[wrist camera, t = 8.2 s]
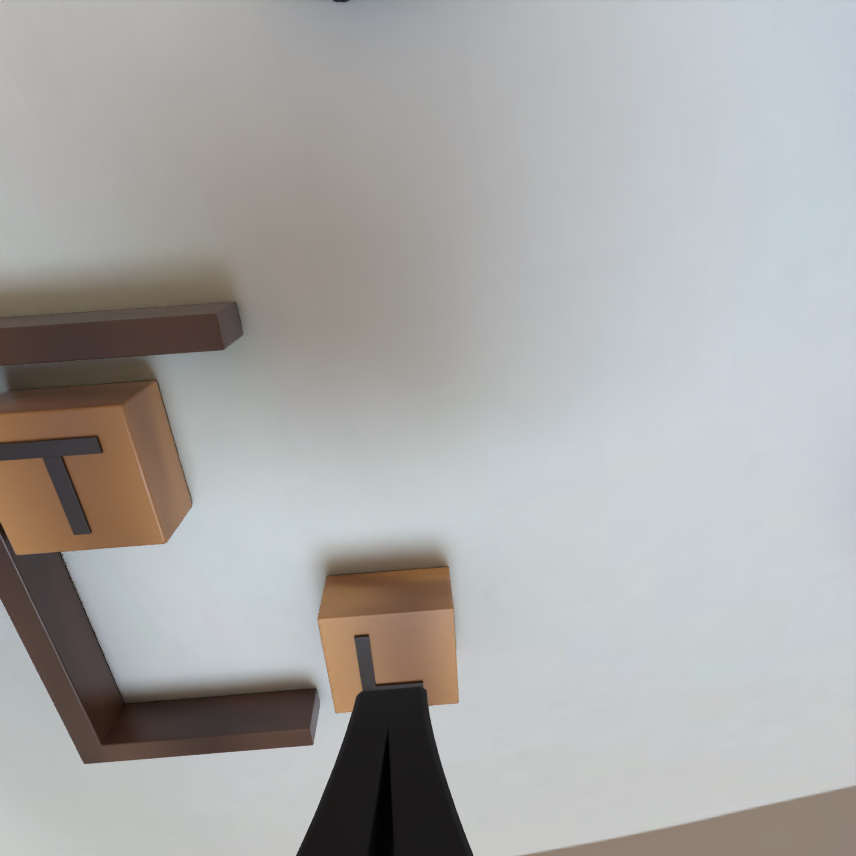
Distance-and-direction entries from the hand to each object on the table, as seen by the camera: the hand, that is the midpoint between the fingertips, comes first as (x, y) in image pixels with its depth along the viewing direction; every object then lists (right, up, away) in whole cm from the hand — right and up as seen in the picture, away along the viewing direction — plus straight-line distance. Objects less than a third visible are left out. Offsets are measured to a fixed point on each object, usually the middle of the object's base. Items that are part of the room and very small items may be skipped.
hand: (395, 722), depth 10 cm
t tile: (-10, +5, +6) cm, 13 cm away
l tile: (-1, -1, +10) cm, 10 cm away
